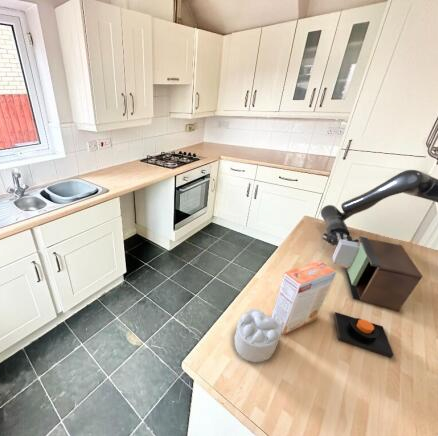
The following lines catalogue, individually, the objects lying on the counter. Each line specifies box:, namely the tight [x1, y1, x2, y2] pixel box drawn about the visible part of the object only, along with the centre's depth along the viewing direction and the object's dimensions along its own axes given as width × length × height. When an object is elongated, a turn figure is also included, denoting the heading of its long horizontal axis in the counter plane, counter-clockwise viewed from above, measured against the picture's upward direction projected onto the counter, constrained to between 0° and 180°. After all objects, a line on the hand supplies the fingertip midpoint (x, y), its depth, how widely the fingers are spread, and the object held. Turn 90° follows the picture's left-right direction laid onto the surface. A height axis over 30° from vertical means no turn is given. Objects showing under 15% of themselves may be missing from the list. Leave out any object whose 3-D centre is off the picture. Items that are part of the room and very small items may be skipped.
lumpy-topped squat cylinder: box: [234, 308, 283, 363], centre depth 69 cm, size 10×13×9 cm
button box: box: [333, 311, 394, 359], centre depth 72 cm, size 12×10×4 cm
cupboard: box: [343, 236, 423, 312], centre depth 86 cm, size 12×18×16 cm
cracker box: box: [270, 260, 337, 335], centre depth 73 cm, size 14×6×21 cm, turn 111°
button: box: [356, 318, 374, 334], centre depth 71 cm, size 4×4×2 cm
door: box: [331, 239, 369, 286], centre depth 92 cm, size 7×12×14 cm, turn 152°
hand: (343, 250), depth 97 cm, fingers closed
